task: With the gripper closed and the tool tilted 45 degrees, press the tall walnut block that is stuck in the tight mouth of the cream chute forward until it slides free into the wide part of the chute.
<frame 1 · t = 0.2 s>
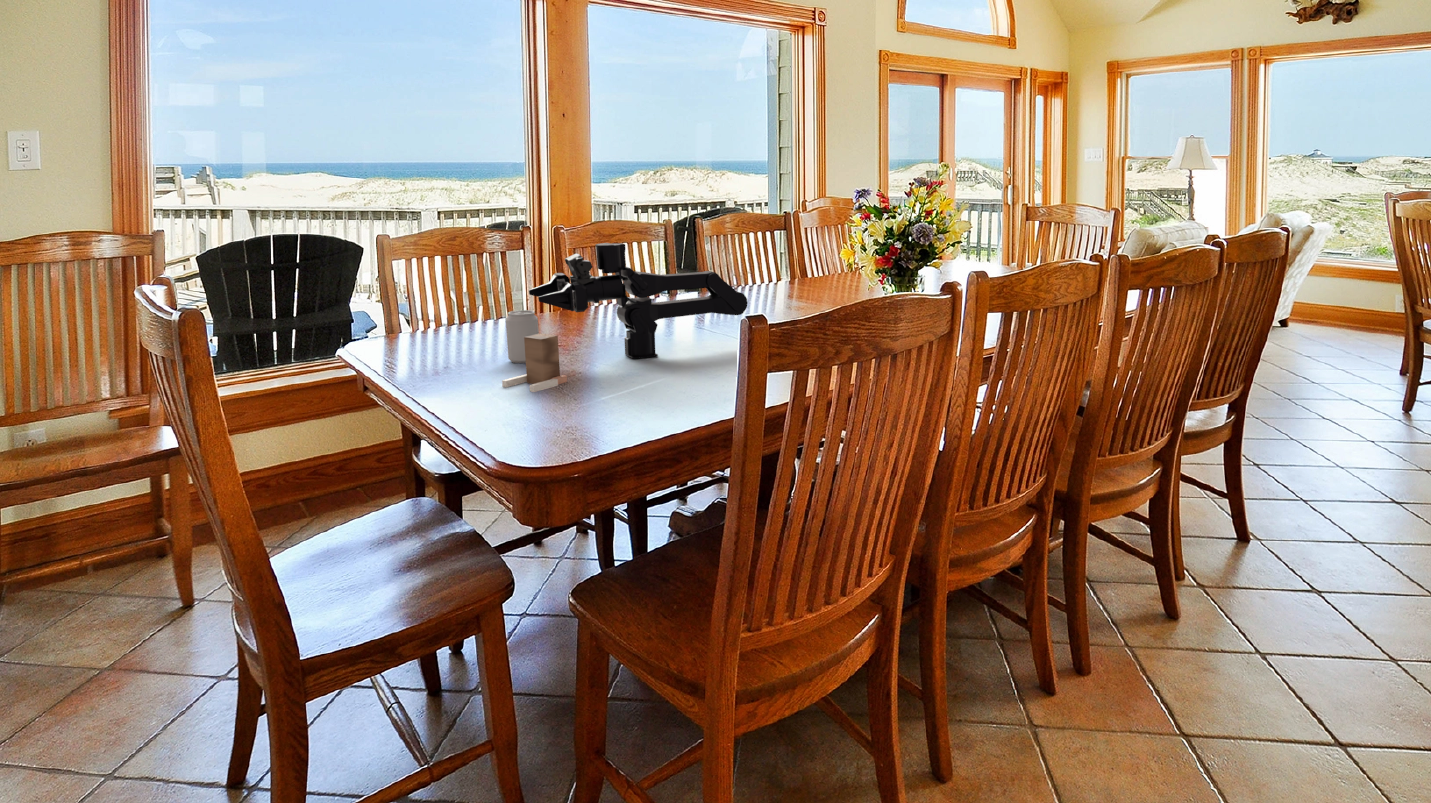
hand: (533, 295, 218), 16 cm above the table, tool horizontal, fingers open, 9 cm apart
can: (524, 362, 228), on the table
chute: (543, 382, 206), on the table
block: (542, 359, 205), point 5 cm above the table, slide at 0.0 cm
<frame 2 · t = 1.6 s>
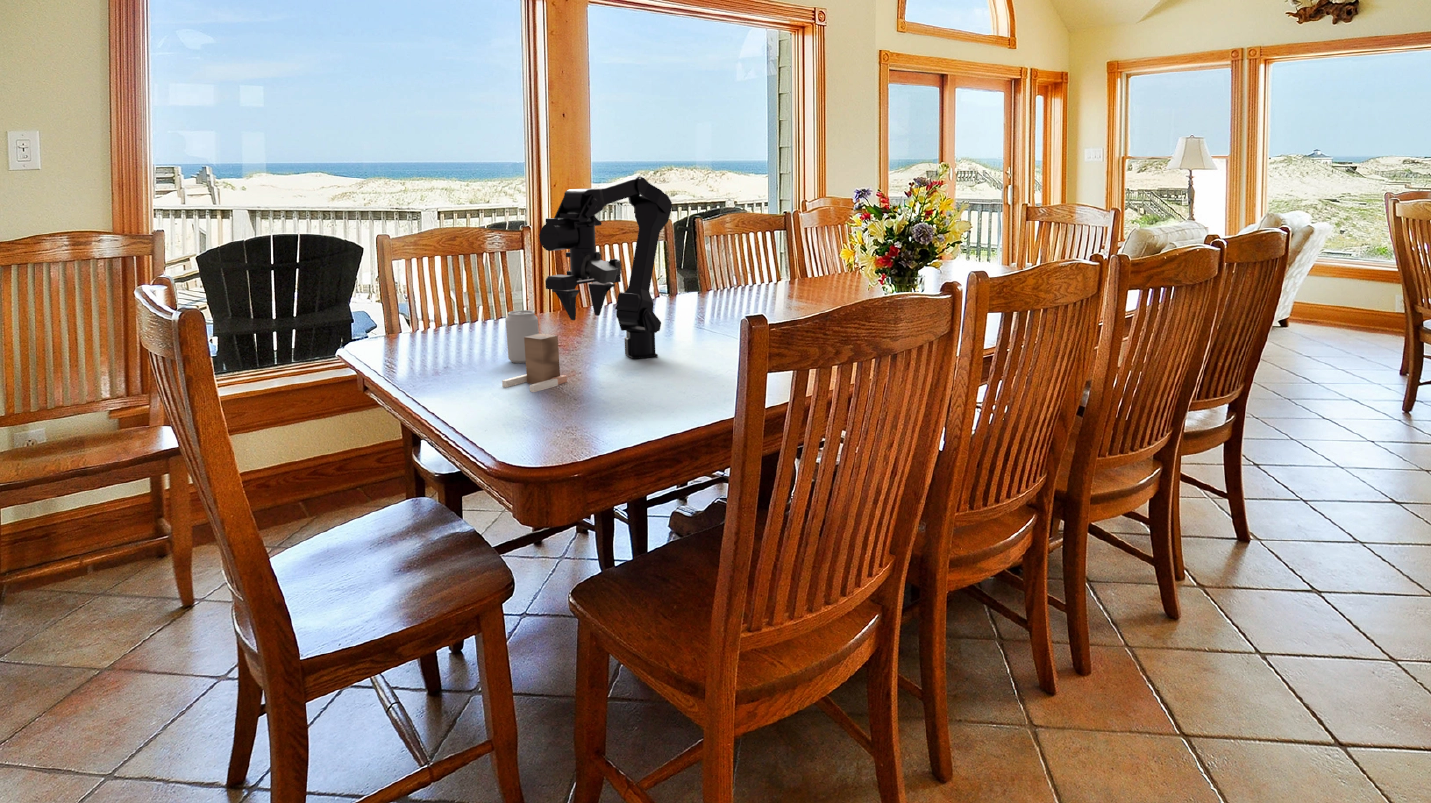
hand: (585, 317, 214), 12 cm above the table, tool pointing down, fingers open, 8 cm apart
nothing on the table moved.
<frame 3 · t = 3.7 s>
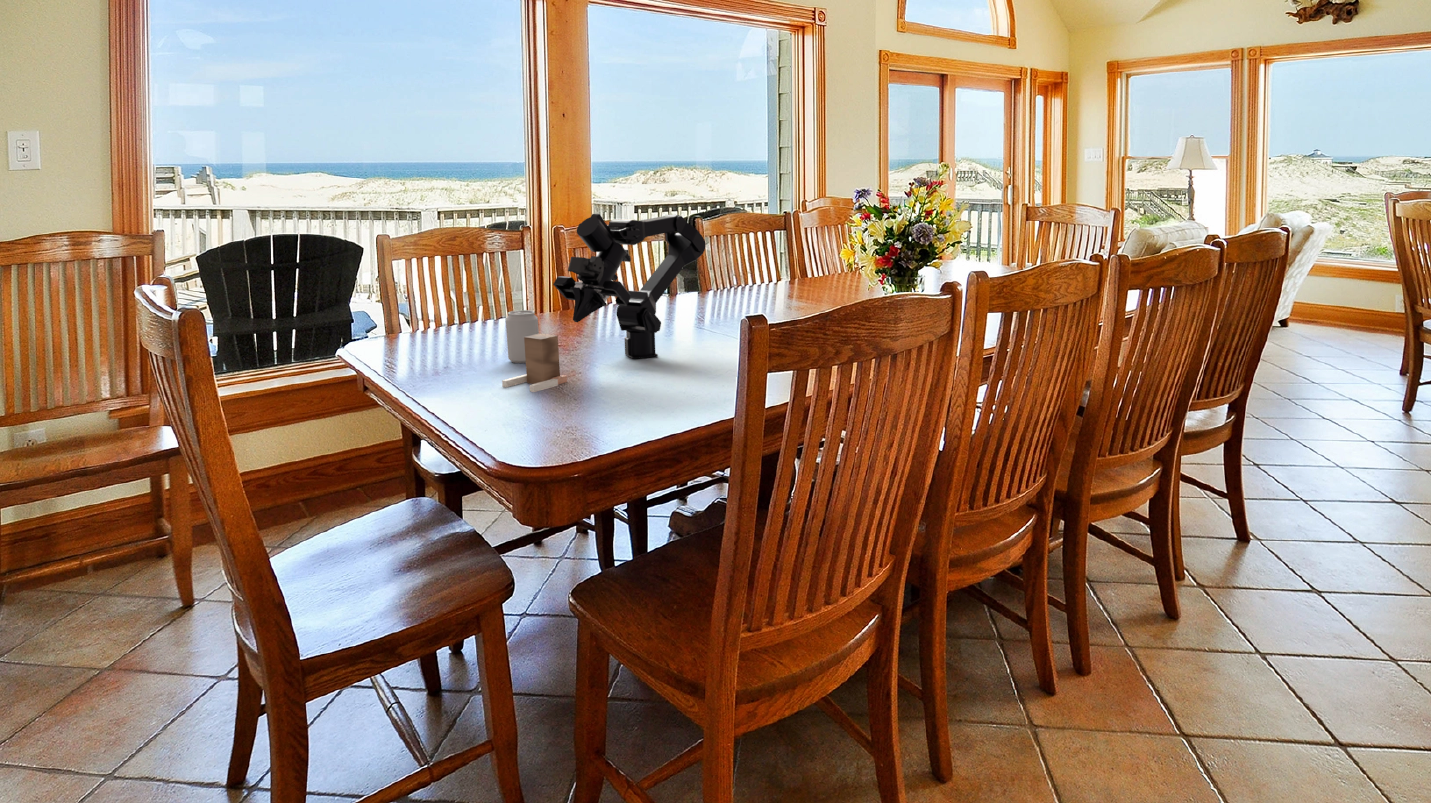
hand: (575, 321, 212), 12 cm above the table, tool tilted 45°, fingers closed
nothing on the table moved.
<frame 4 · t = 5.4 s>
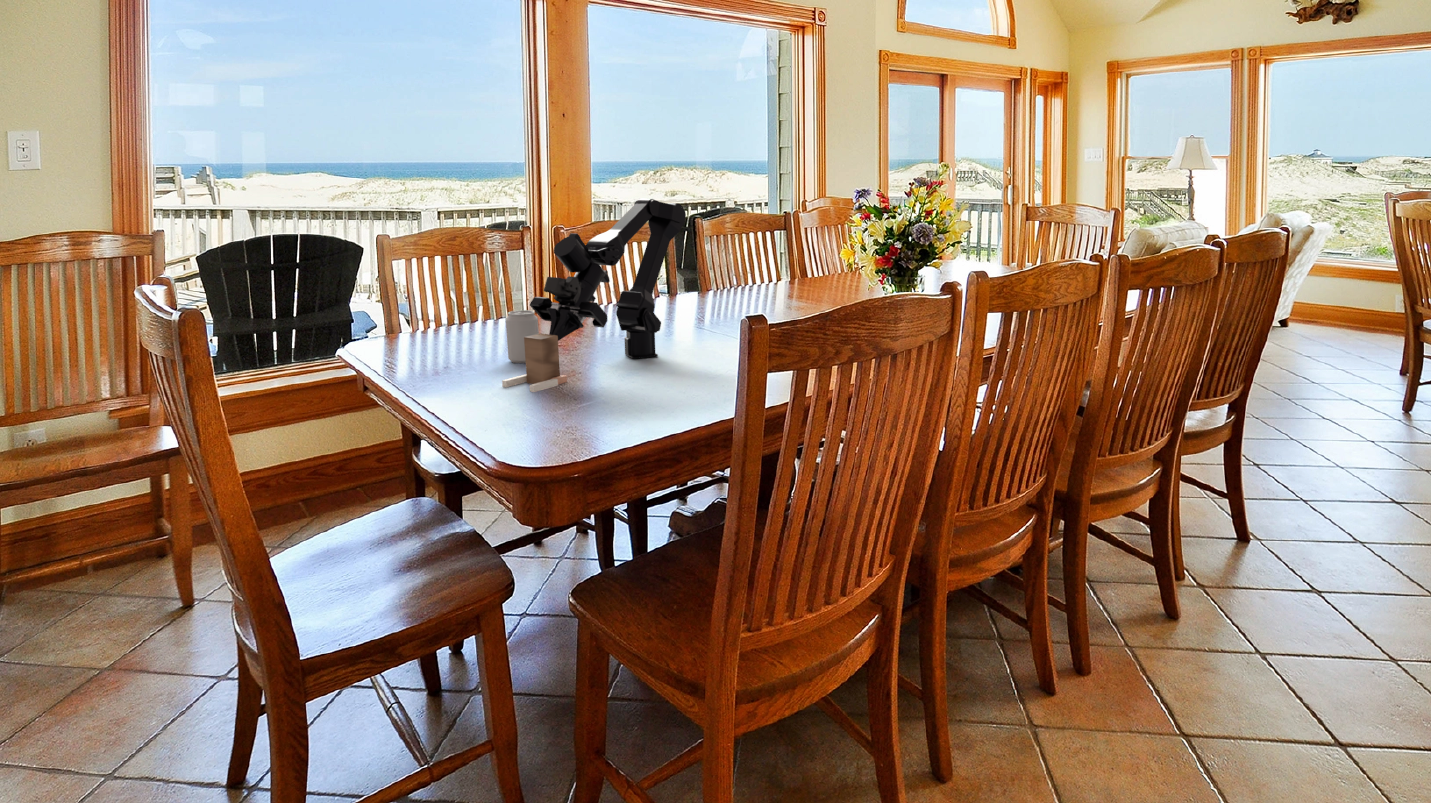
hand: (550, 342, 206), 8 cm above the table, tool tilted 45°, fingers closed, pressing on block
block: (542, 359, 205), point 5 cm above the table, slide at 0.0 cm, touching gripper
everything else where it was.
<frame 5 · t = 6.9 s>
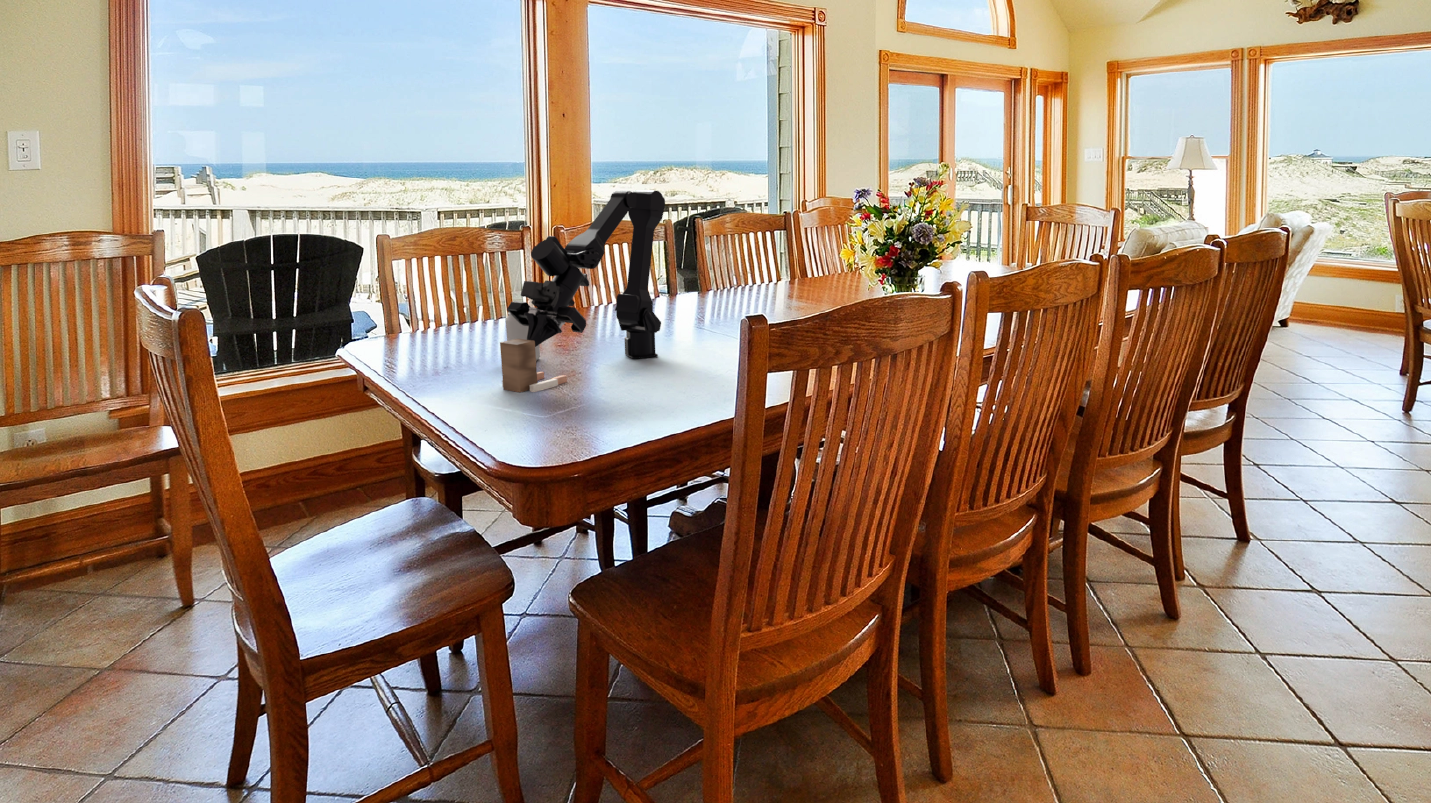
hand: (527, 348, 201), 8 cm above the table, tool tilted 45°, fingers closed, pressing on block
block: (519, 365, 200), point 5 cm above the table, slide at 6.8 cm, touching gripper
everything else where it was.
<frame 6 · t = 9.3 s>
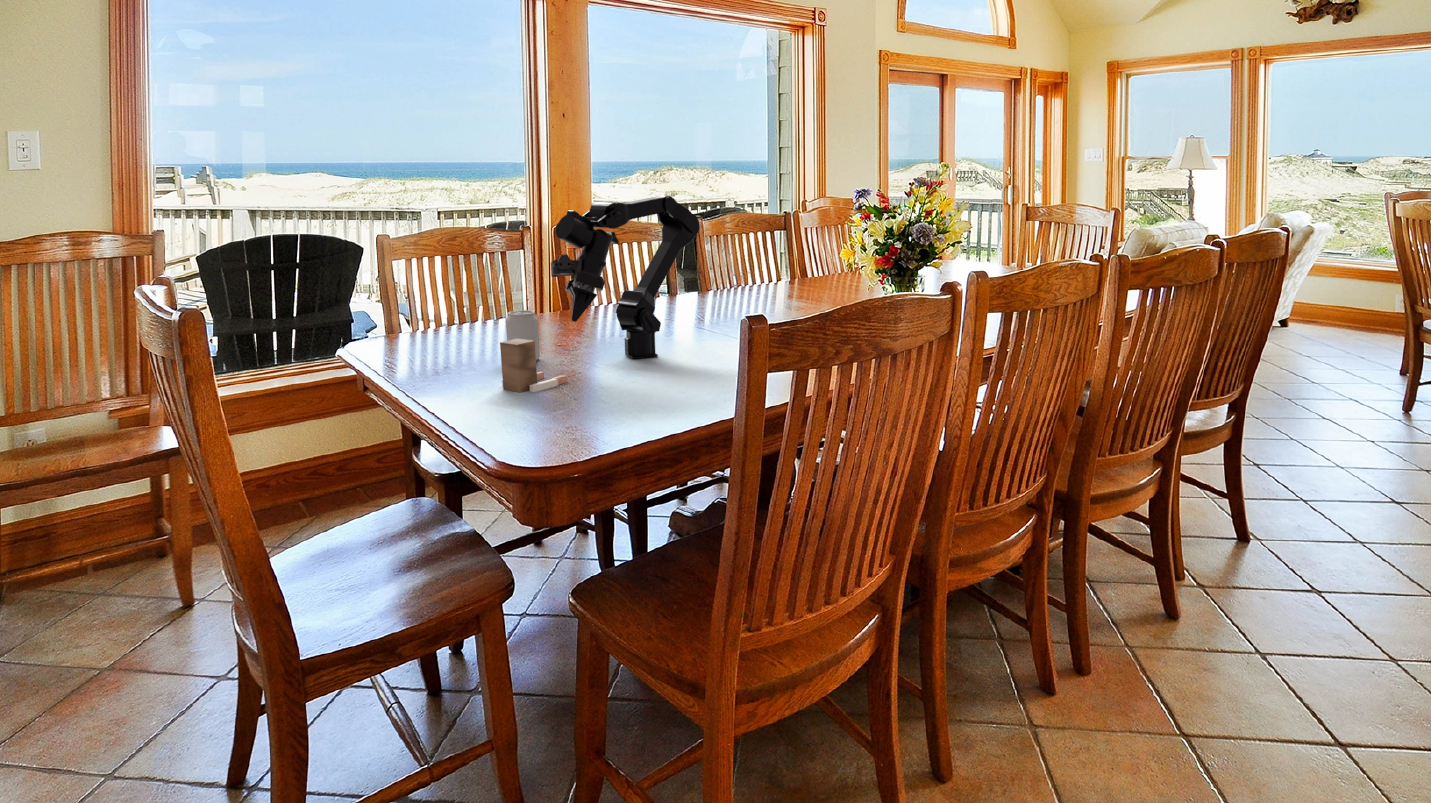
hand: (573, 321, 215), 11 cm above the table, tool tilted 25°, fingers closed
block: (518, 365, 199), point 5 cm above the table, slide at 6.8 cm
everything else where it was.
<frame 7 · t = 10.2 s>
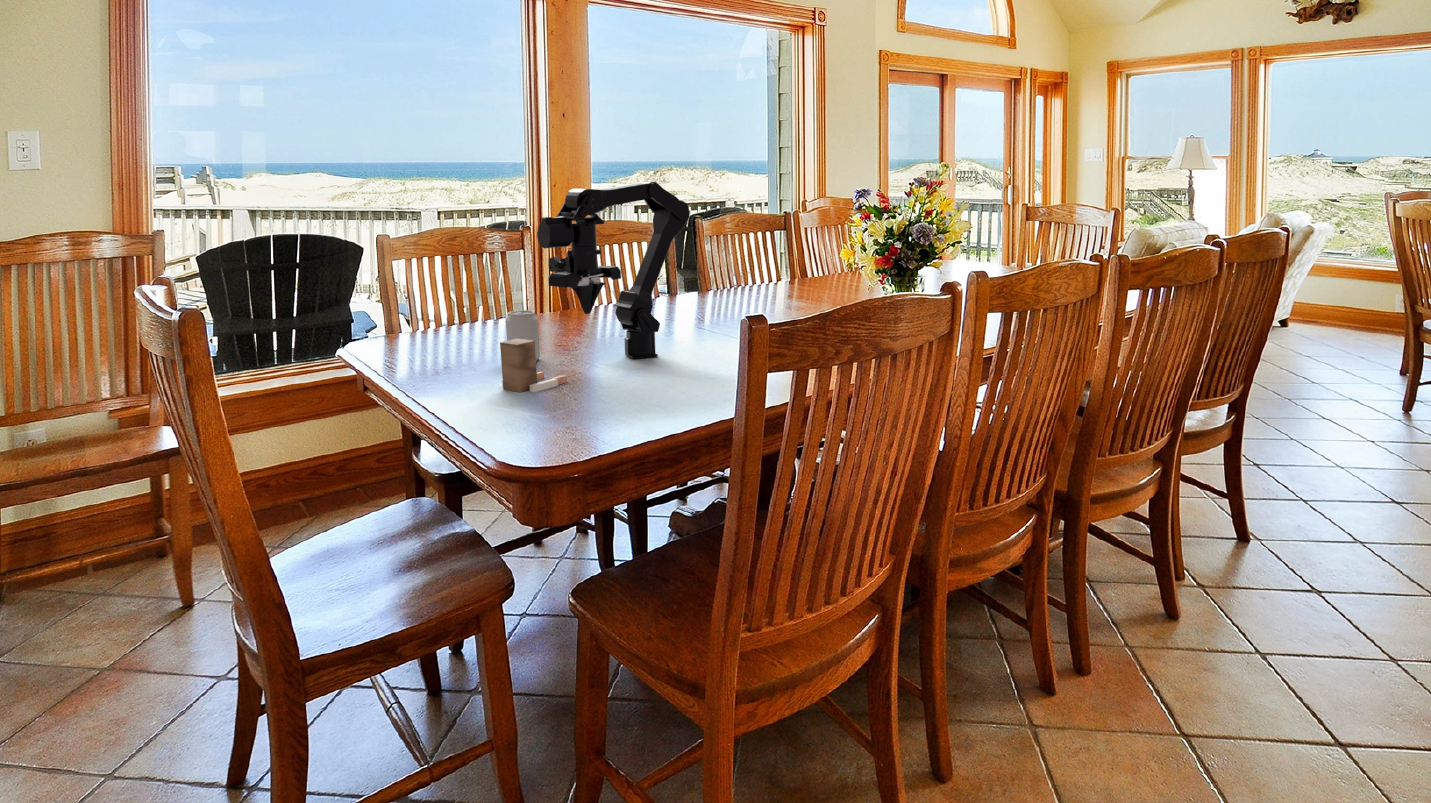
hand: (587, 313, 220), 12 cm above the table, tool pointing down, fingers closed
nothing on the table moved.
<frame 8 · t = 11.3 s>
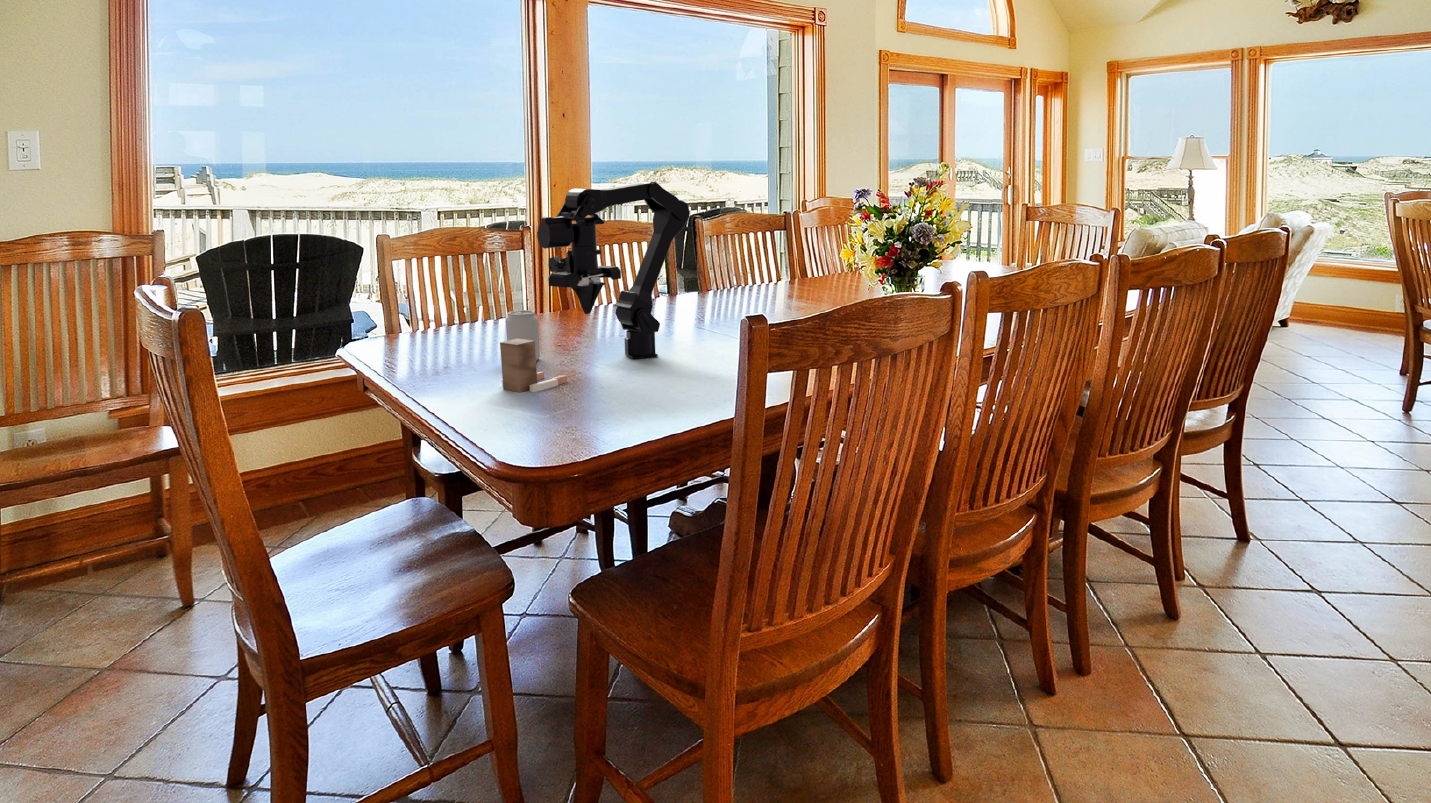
hand: (587, 313, 220), 12 cm above the table, tool pointing down, fingers closed
nothing on the table moved.
at the end: block slide at 6.8 cm; block touching nothing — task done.
